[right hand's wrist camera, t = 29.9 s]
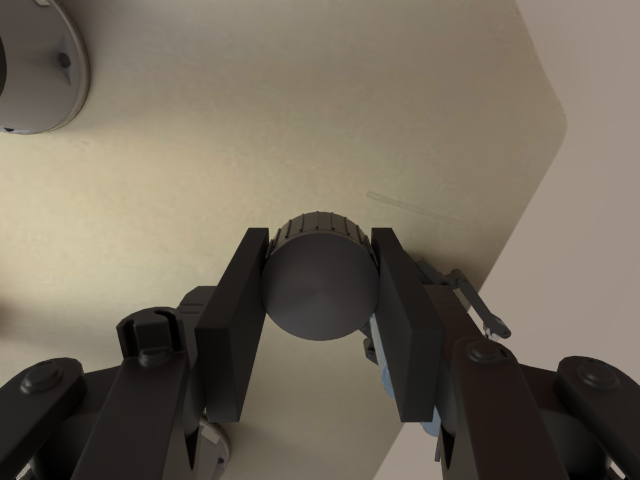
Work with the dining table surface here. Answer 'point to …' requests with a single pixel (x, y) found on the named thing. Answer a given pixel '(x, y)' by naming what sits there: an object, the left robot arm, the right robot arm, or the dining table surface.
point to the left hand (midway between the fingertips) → (367, 271)
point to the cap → (320, 277)
